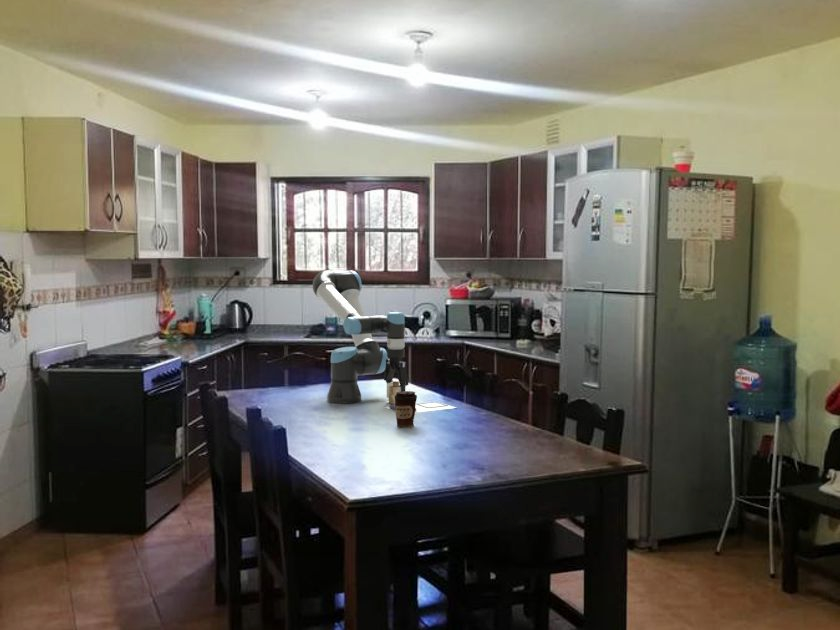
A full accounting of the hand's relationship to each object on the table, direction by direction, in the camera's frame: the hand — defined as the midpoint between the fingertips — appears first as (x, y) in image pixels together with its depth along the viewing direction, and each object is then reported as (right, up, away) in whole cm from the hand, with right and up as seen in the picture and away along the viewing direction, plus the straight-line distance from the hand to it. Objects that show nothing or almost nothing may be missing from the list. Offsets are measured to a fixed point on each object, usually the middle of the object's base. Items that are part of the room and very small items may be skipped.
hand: (395, 399), depth 329 cm
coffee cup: (+5, -6, -43) cm, 43 cm away
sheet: (+11, -3, -8) cm, 13 cm away
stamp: (0, -2, 0) cm, 2 cm away
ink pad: (+3, -3, -13) cm, 14 cm away
